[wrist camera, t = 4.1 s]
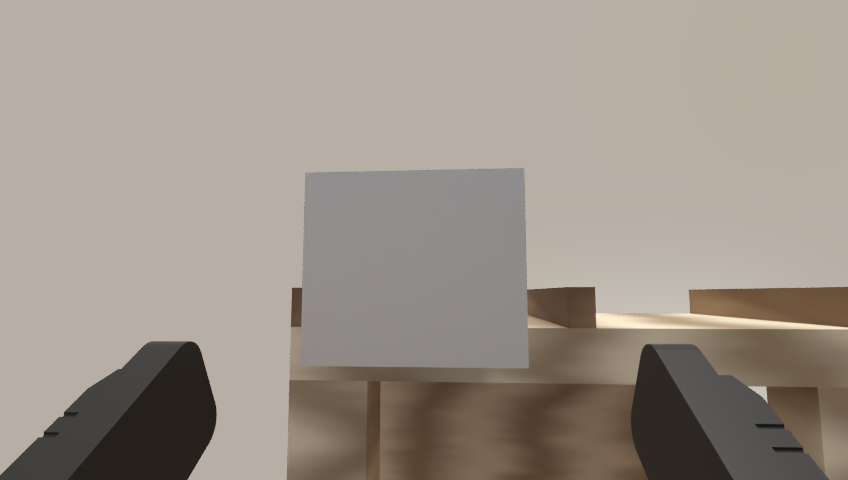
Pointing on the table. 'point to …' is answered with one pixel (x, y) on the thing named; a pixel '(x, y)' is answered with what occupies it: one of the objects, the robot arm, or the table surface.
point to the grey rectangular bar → (415, 269)
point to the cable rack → (569, 391)
